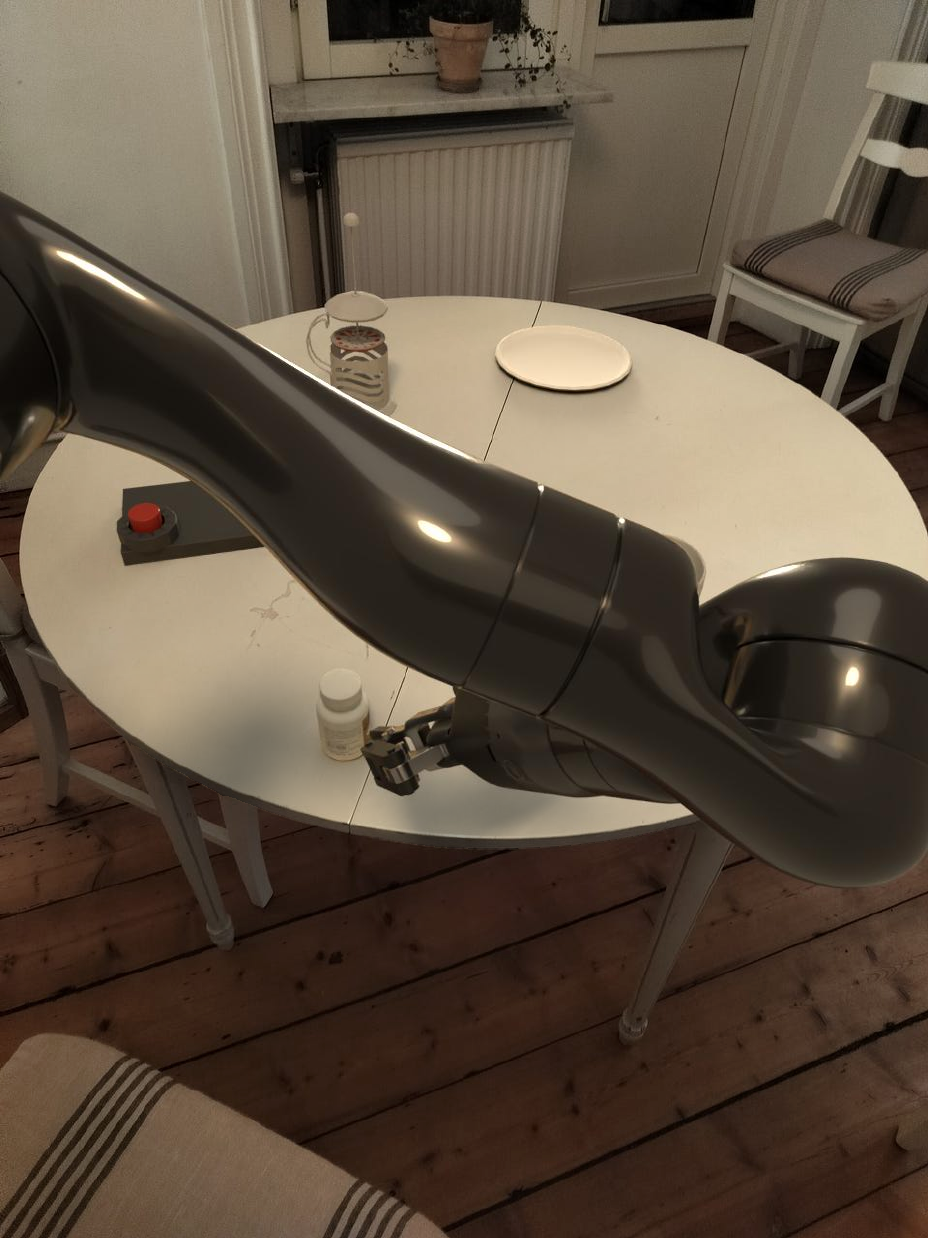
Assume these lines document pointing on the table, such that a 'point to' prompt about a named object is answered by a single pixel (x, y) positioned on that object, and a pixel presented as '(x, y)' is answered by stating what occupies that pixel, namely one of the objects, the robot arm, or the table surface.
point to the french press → (357, 344)
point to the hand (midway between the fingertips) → (421, 720)
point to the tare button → (145, 518)
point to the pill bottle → (342, 715)
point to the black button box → (180, 525)
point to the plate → (563, 358)
